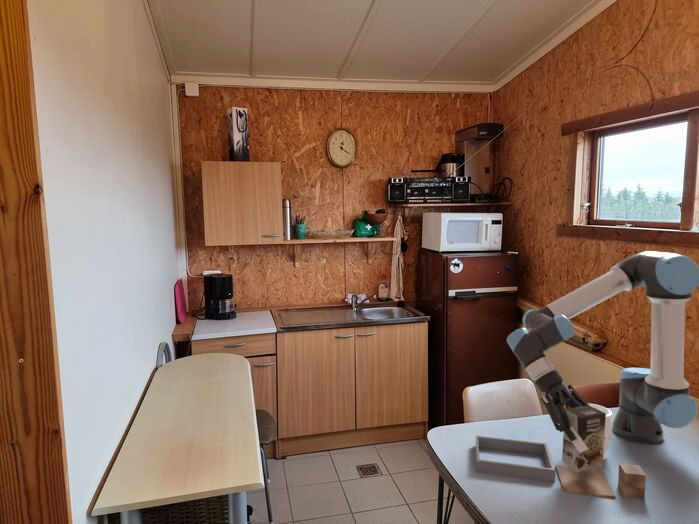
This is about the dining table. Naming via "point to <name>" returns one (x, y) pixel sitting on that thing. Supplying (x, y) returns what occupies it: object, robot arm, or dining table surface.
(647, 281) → the robot arm
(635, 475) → the walnut block
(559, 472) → the cork mat
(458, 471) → the dining table surface
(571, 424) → the cookie box
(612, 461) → the dining table surface
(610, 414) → the jar
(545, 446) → the frame
